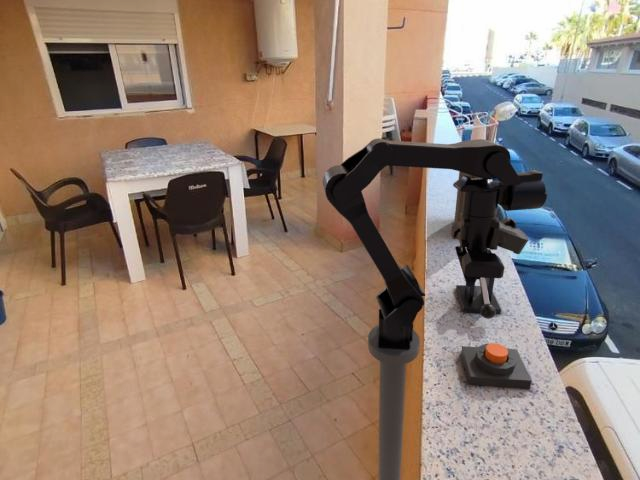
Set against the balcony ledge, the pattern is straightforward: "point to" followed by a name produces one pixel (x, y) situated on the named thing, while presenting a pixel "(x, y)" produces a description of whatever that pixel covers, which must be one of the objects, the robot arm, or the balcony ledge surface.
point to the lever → (486, 301)
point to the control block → (495, 369)
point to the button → (496, 353)
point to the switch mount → (476, 297)
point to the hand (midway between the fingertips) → (469, 285)
